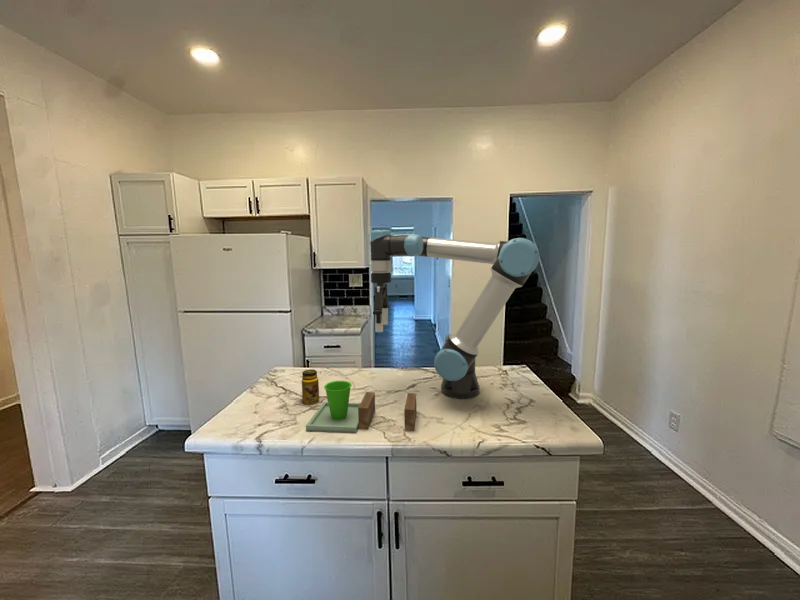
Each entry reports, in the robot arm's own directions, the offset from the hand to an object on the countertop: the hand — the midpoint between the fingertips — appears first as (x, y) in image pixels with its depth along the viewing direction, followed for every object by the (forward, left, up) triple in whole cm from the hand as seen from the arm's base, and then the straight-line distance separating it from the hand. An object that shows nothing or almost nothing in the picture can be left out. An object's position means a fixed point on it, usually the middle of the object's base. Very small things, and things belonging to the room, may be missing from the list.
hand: (382, 328), depth 135 cm
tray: (+12, +21, -27) cm, 36 cm away
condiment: (+27, +8, -27) cm, 39 cm away
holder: (-5, +21, -27) cm, 34 cm away
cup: (+12, +21, -26) cm, 36 cm away
